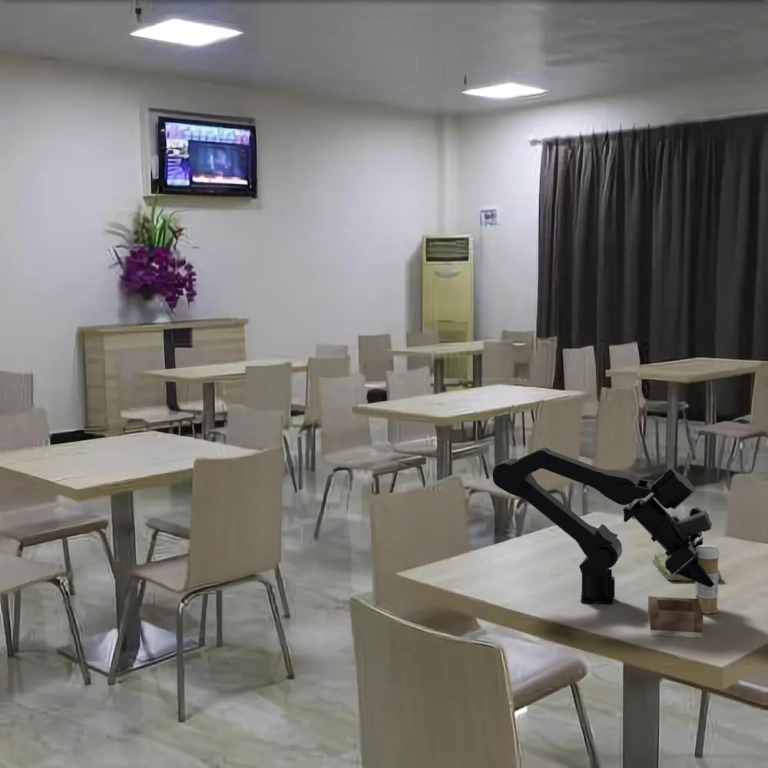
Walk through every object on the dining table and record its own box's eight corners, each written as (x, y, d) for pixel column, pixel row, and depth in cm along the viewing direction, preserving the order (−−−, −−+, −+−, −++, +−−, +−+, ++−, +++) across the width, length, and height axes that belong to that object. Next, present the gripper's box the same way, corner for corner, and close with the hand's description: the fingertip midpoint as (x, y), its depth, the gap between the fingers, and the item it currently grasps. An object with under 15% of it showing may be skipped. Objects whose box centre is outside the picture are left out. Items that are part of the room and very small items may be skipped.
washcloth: (705, 562, 238) (705, 549, 237) (723, 584, 220) (723, 570, 220) (650, 561, 239) (650, 548, 239) (663, 584, 221) (664, 570, 221)
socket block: (650, 634, 189) (650, 612, 189) (648, 617, 199) (648, 596, 198) (702, 637, 187) (703, 615, 187) (697, 620, 196) (698, 598, 196)
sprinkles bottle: (700, 605, 205) (701, 542, 204) (721, 610, 202) (722, 546, 201) (690, 611, 202) (691, 547, 200) (711, 616, 199) (713, 551, 197)
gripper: (683, 508, 192) (742, 568, 189) (691, 488, 210) (745, 543, 207) (641, 544, 196) (698, 603, 193) (653, 522, 213) (706, 576, 210)
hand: (713, 580), depth 201 cm, fingers open, 8 cm apart
